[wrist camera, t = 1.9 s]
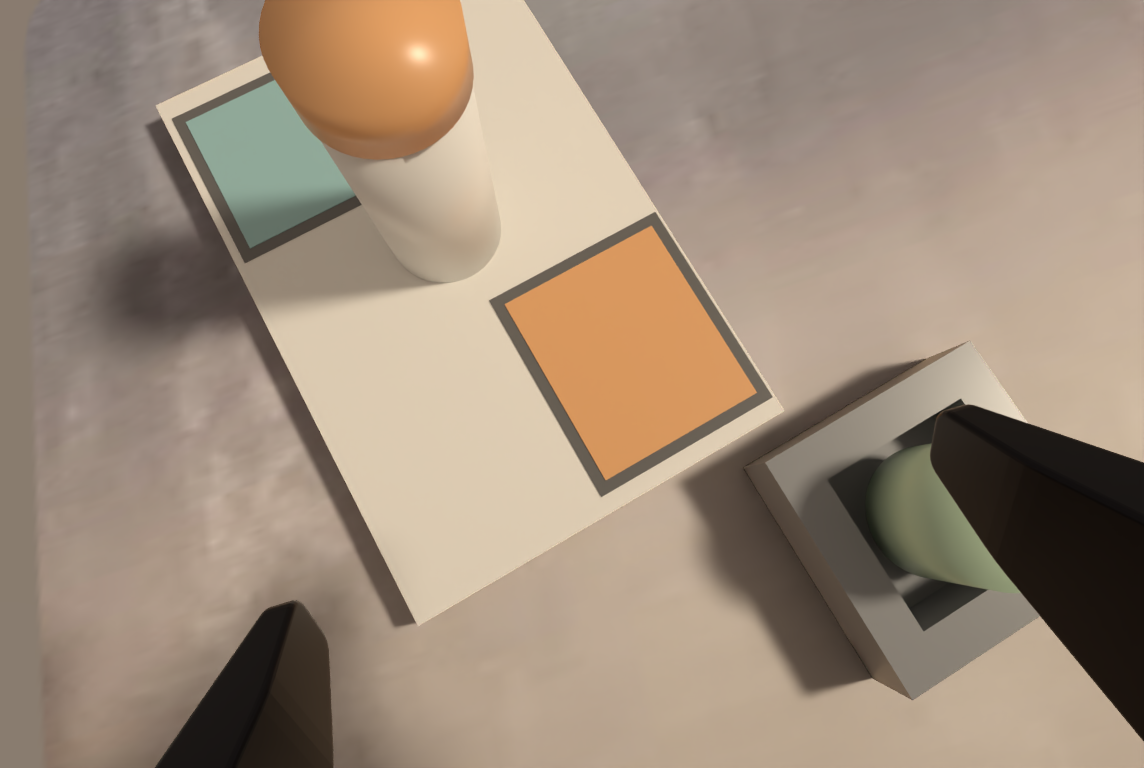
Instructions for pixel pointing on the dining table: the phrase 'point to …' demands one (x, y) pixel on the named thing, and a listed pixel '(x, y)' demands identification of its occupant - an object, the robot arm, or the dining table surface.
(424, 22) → the marker
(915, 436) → the button housing
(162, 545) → the dining table surface
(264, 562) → the dining table surface
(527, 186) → the colouring mat
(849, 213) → the dining table surface
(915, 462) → the button
